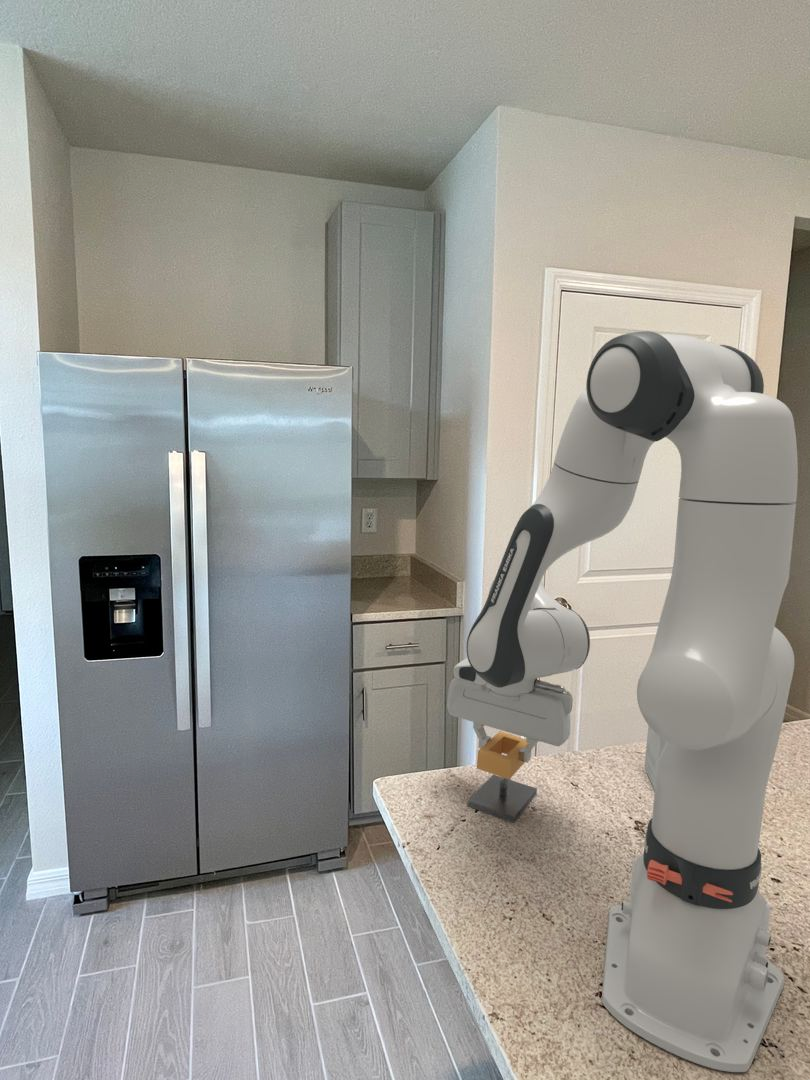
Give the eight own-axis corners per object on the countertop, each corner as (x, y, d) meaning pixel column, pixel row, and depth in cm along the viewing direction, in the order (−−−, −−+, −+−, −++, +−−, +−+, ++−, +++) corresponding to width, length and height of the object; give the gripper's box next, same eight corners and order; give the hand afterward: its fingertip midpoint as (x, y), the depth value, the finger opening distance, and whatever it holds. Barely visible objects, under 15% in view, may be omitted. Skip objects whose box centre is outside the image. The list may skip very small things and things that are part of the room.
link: (509, 779, 100) (510, 761, 99) (476, 768, 103) (477, 751, 102) (529, 757, 107) (530, 740, 107) (498, 747, 110) (499, 731, 109)
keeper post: (513, 822, 99) (516, 776, 98) (467, 806, 103) (469, 761, 102) (536, 793, 108) (539, 751, 107) (492, 779, 112) (495, 738, 111)
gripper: (579, 682, 100) (572, 764, 102) (462, 654, 110) (457, 730, 112) (567, 695, 94) (559, 782, 97) (444, 665, 105) (440, 744, 107)
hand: (504, 753), depth 105 cm, fingers closed on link, 6 cm apart
